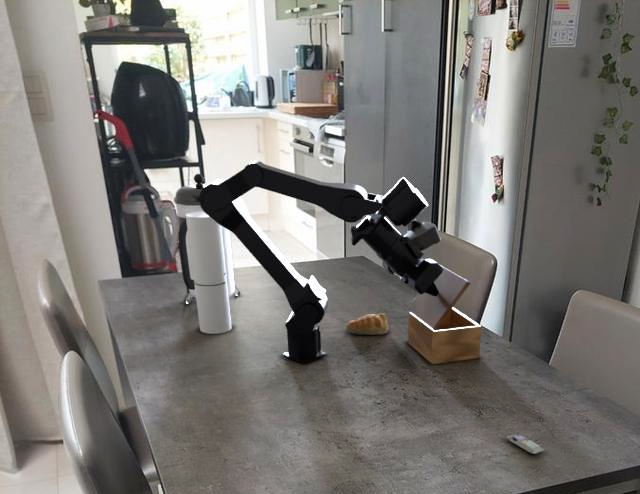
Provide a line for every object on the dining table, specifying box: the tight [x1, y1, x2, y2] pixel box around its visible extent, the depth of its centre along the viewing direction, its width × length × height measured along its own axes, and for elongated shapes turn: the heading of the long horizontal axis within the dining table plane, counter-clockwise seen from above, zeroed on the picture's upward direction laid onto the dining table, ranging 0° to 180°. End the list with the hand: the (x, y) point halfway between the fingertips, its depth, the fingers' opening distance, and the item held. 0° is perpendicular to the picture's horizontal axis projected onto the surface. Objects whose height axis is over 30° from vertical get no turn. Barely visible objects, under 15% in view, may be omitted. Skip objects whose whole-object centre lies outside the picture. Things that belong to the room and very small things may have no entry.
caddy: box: [407, 306, 483, 365], centre depth 146 cm, size 11×14×7 cm
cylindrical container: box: [186, 211, 232, 335], centre depth 154 cm, size 7×7×25 cm
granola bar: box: [506, 433, 545, 455], centre depth 111 cm, size 7×2×1 cm, turn 31°
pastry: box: [345, 312, 389, 336], centre depth 158 cm, size 9×7×4 cm
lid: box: [407, 264, 471, 330], centre depth 142 cm, size 11×14×1 cm
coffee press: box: [173, 173, 241, 305], centre depth 171 cm, size 17×16×30 cm
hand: (436, 294), depth 141 cm, fingers closed
